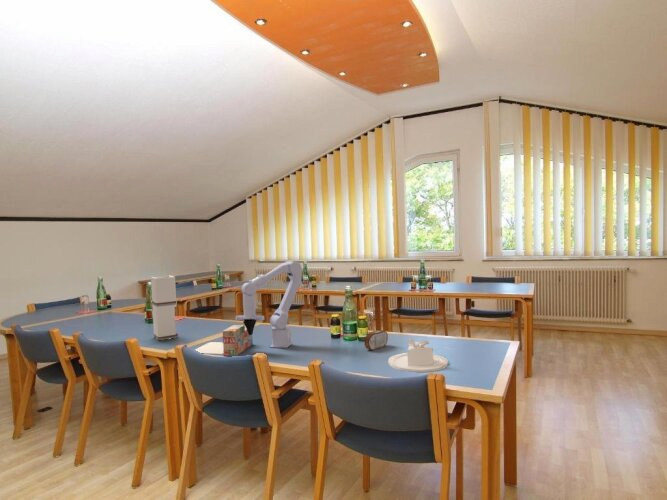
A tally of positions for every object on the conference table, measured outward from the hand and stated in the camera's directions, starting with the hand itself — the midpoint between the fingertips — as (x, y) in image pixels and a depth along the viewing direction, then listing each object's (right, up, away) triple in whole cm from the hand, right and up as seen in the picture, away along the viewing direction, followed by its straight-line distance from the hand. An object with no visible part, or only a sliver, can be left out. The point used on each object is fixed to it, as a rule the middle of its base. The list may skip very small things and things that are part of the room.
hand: (250, 334), depth 211 cm
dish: (+77, -7, -29) cm, 82 cm away
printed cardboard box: (-6, -8, +3) cm, 11 cm away
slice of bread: (+62, -6, -4) cm, 62 cm away
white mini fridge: (-55, -9, +35) cm, 66 cm away
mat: (-19, -8, +7) cm, 22 cm away
